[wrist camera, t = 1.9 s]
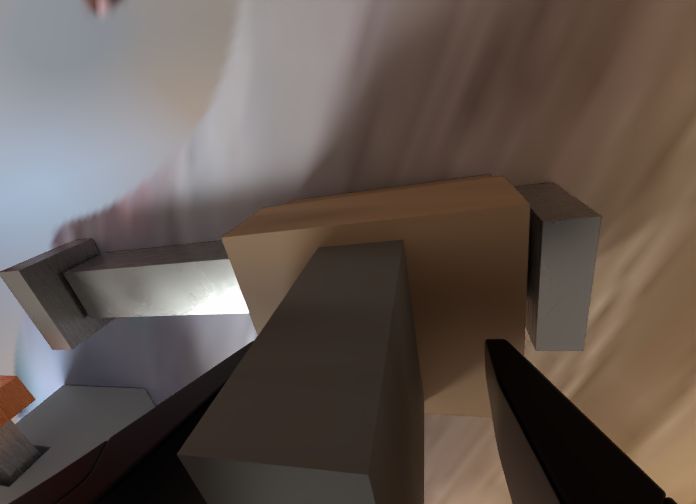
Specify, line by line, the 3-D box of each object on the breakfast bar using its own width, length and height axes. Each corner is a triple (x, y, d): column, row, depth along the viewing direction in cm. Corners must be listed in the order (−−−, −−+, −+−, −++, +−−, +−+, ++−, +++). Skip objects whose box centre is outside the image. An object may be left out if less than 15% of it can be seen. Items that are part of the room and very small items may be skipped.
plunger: (90, 467, 19) (35, 529, 16) (53, 462, 19) (-6, 520, 17) (16, 376, 16) (-65, 432, 13) (-24, 374, 17) (-108, 428, 14)
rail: (546, 289, 12) (583, 350, 9) (112, 308, 17) (52, 349, 15) (553, 182, 10) (601, 216, 7) (73, 240, 16) (-3, 272, 13)
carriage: (491, 318, 13) (619, 752, 4) (321, 321, 14) (184, 629, 6) (490, 161, 10) (771, 467, 2) (286, 190, 12) (-16, 407, 4)
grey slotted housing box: (182, 451, 23) (91, 585, 16) (106, 443, 24) (-1, 561, 18) (144, 388, 20) (22, 518, 14) (63, 385, 22) (-76, 498, 16)
